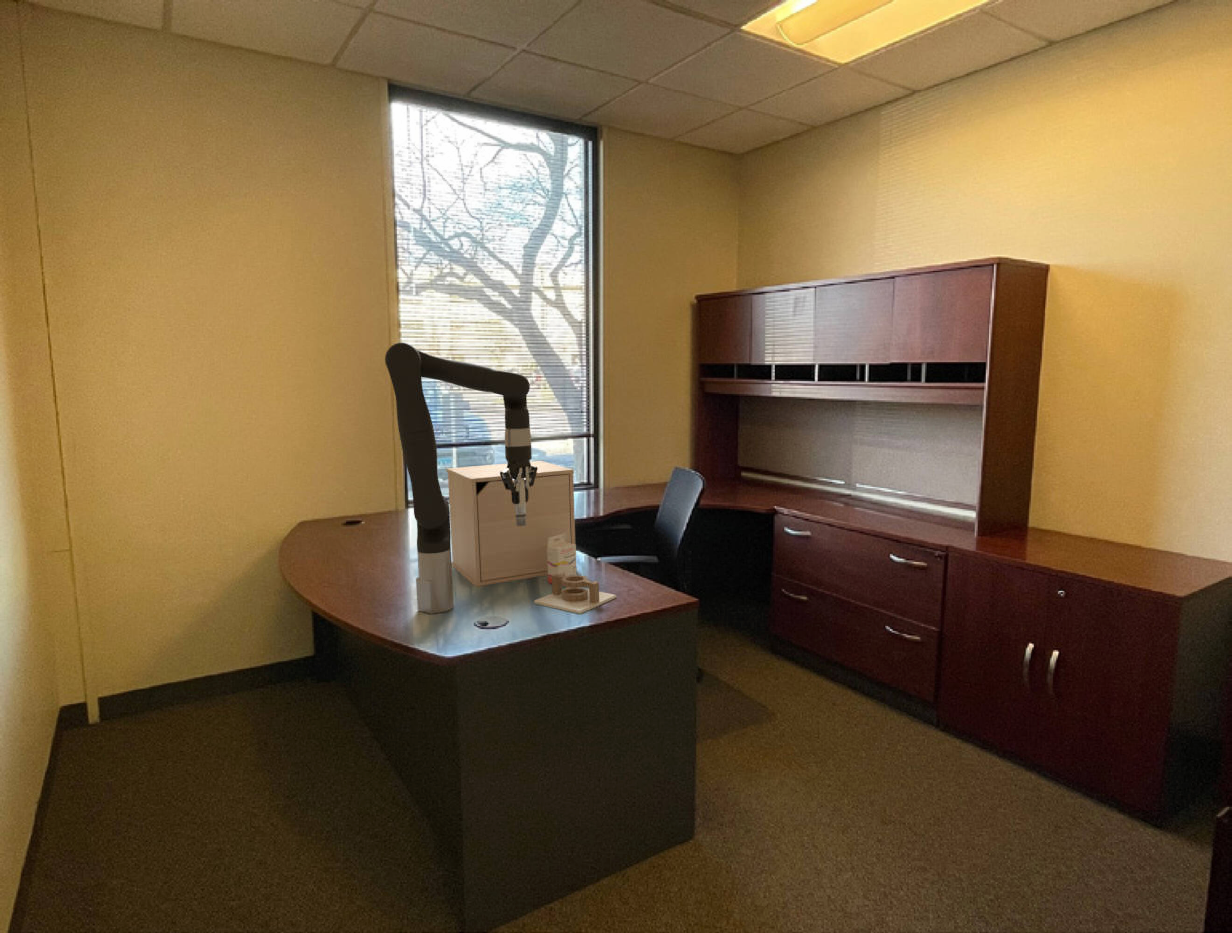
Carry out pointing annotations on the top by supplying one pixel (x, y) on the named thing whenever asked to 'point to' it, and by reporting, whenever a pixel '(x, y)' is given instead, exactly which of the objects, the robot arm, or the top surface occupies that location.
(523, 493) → the tube
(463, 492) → the cabinet
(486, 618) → the top surface
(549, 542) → the ink cartridge box
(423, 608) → the robot arm
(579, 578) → the dock
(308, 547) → the top surface
